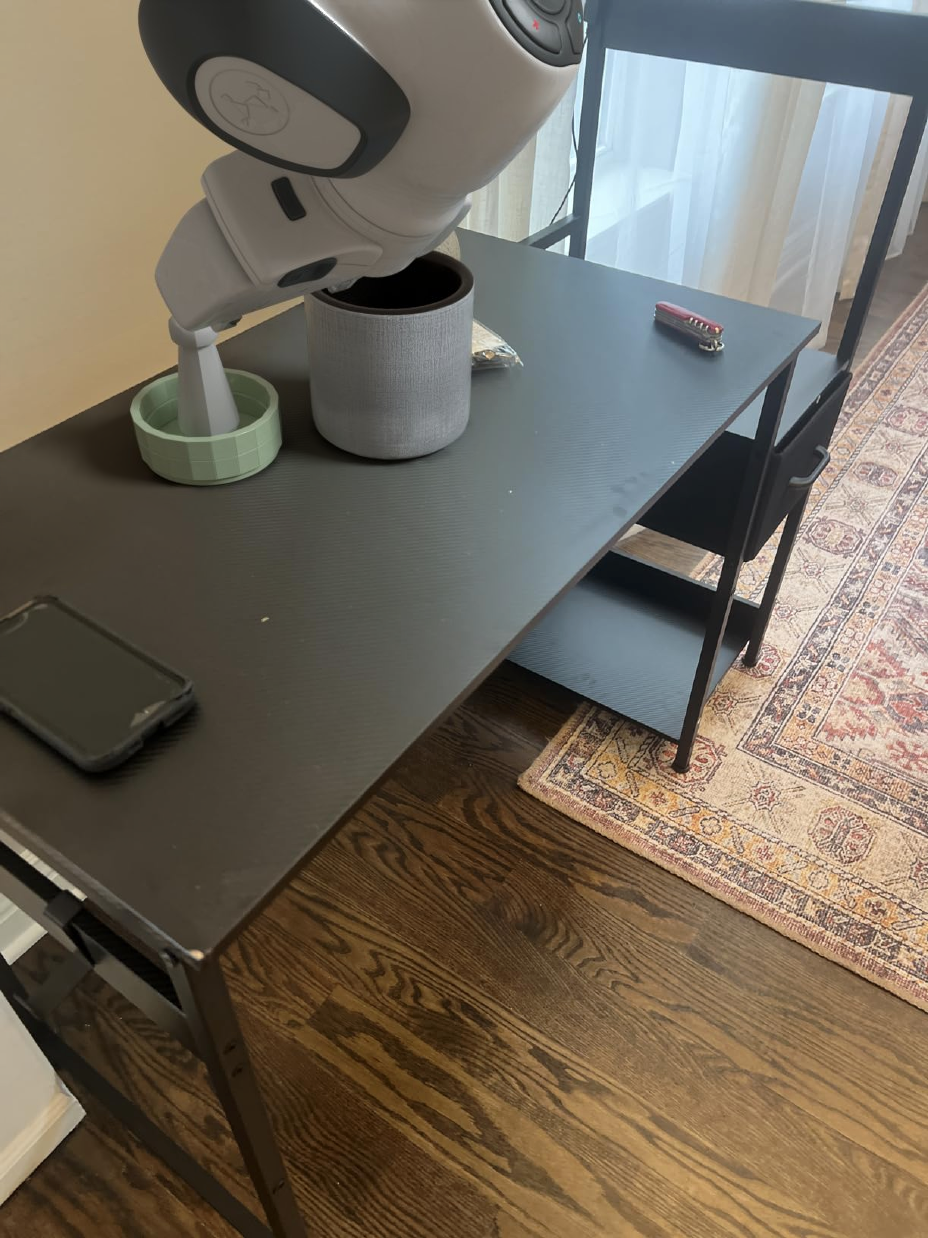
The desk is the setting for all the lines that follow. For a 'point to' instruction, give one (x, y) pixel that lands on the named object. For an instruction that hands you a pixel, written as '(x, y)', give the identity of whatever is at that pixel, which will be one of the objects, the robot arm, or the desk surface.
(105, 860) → the desk surface
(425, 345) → the planter
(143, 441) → the bowl
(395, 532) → the desk surface
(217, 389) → the grey tapered column
